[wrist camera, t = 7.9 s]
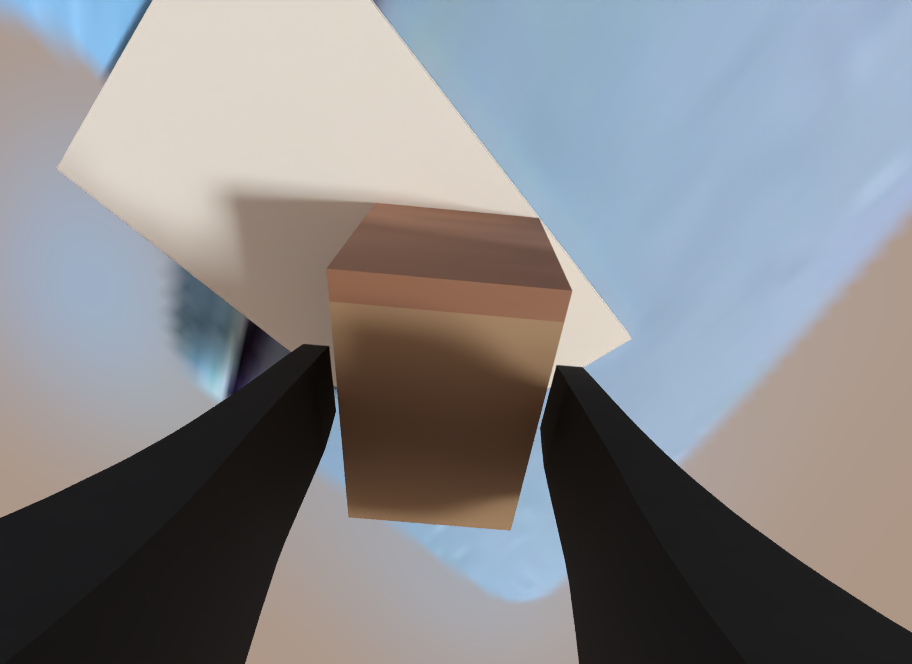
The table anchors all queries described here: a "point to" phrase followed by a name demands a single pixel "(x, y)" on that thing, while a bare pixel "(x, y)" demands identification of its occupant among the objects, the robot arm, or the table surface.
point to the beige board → (289, 155)
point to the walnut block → (442, 360)
